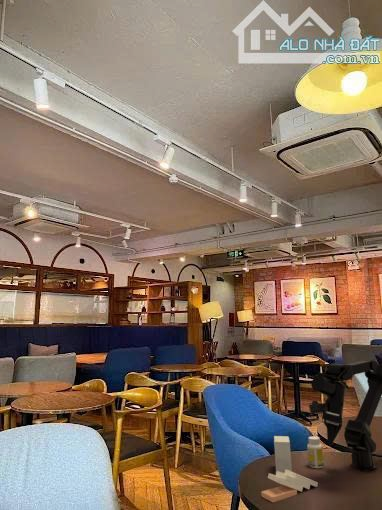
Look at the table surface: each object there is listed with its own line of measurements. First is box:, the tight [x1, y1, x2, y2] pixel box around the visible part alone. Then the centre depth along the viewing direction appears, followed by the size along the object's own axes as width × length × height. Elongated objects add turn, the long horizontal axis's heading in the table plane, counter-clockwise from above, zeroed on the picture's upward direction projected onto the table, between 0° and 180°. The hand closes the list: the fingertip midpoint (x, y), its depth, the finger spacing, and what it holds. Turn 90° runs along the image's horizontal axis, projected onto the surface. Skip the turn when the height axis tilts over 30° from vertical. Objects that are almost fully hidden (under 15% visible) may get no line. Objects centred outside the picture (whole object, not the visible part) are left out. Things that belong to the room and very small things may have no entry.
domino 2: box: [261, 484, 298, 503], centre depth 118 cm, size 1×5×10 cm
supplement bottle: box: [306, 435, 325, 469], centre depth 142 cm, size 5×5×10 cm
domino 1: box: [267, 473, 304, 493], centre depth 120 cm, size 1×5×10 cm
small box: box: [273, 435, 293, 473], centre depth 139 cm, size 8×6×10 cm
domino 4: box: [284, 469, 319, 488], centre depth 123 cm, size 1×5×10 cm
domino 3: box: [275, 470, 311, 490], centre depth 122 cm, size 1×5×10 cm
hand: (329, 445), depth 132 cm, fingers closed
